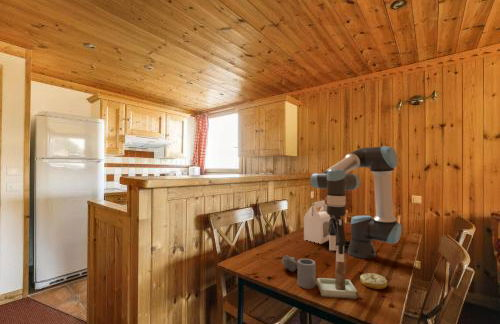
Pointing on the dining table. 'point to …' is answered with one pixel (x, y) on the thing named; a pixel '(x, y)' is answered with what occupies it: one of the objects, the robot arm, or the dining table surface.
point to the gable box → (317, 223)
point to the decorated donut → (373, 281)
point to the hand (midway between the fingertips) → (336, 255)
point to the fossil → (289, 263)
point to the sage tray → (329, 289)
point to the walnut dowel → (340, 274)
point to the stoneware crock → (306, 273)
